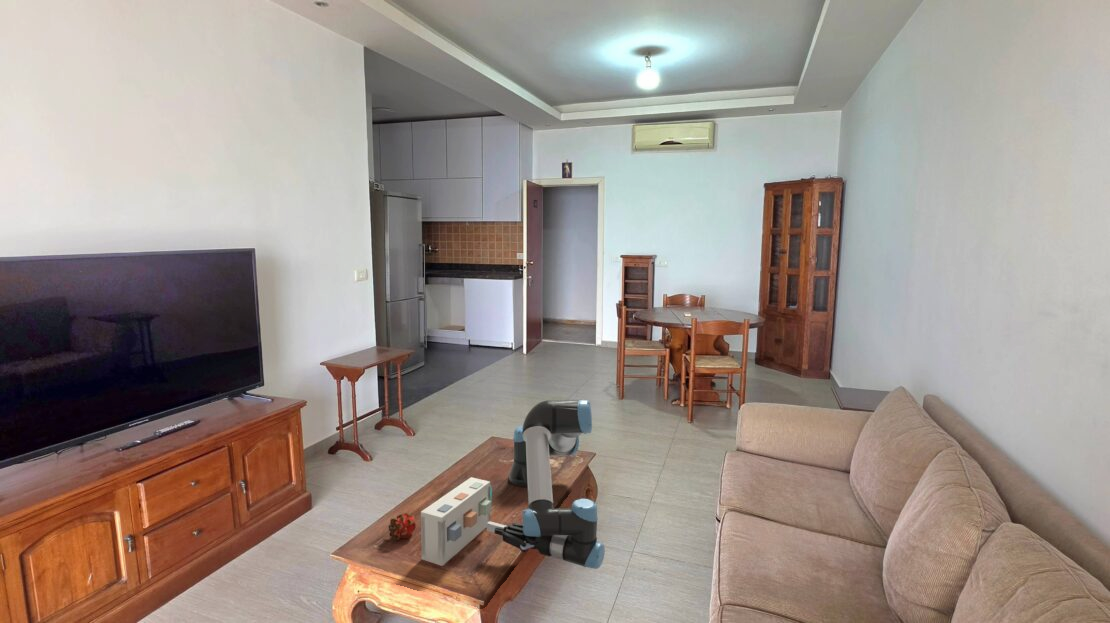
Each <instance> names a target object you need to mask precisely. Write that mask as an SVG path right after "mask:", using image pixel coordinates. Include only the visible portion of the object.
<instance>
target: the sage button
mask: <svg viewBox="0 0 1110 623" xmlns="http://www.w3.org/2000/svg"><path fill="white" fill-rule="evenodd" d="M489 512H490V513H491V512H492V500H491V501H489V500H485V499H483V500H482V501H480V502H479V514H482V515H487V514H488V513H489Z"/></svg>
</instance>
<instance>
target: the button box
mask: <svg viewBox="0 0 1110 623" xmlns="http://www.w3.org/2000/svg"><path fill="white" fill-rule="evenodd" d="M490 486H491V481H489V480H486V479H480V478H476V477H472V476H470V477H469V478H468V479H466V480H465V481H463V482H462V483H460V484H459V485H458V486H456V487H455V488H453V489H451V490H450V491H449V492H447V493H446V494H444V495H443V496H441V497H439V499H437V500H436V501H434V502H433V503H431V504H430V505H429V506H427V507H426V508H424V509H423V510H421V511H420V538H421V539H420V540H421V541H420V542H421V544H420V546H421V560H422V561H426V562H429V563H432V564H435V565H438V566H441V567H443V566H444V565H446V564H447V563H448V562H449V561H450V560H451V559H452V558H453V557H454V556H456V555H457V554H458V553H460V552H461V551H462V549H464V548H465V547H466V546H467V545H468V544H469V543H470V542H471V541H473V540H474V539H475V538H476V537H478V535H480V534H481V533H482V532H483V531H484V530H485V529H487V523H488V522H489V521H491V512H489V513H488V514H487V515H482V514H479V502H480V501H482V500H483V499H485V500H489V501H490ZM467 511H473V512H477V523H476V524H475V525H474V526H473V527H471V528H470V527H466V526H463V515H464V514H465V513H466V512H467ZM452 523H456V524H459V525H461V528H462V536H461V537H460V538H458V539H457V540H456V541H452V540H449V539H447V527H448V526H450V525H451V524H452Z"/></svg>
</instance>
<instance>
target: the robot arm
mask: <svg viewBox="0 0 1110 623" xmlns="http://www.w3.org/2000/svg"><path fill="white" fill-rule="evenodd" d="M591 405H592V404H591V402H590V400H588V399H586V400H585V399H564V400H560V399H557V400H554V399H553V400H550V399H548V400H543V401H541V402H539V403H537V404H535V405H534V406H533V407H532V408H531V409H530V410H529V412H528V413H527V415H526V416H525V418H524V421H523V424H521V425H519V426H517V427H516V428H515V429H514V431H513V439H512V440H513V463H512V465H511V468H510V471H509V474H508V475H509V476H508V477H509V478H508V479H509V482H510V483H511V484H512V485H515V486H518V487H525V488H527V497H528V500H527V501H528V508H527V509H524V510H523V511H522V523H520V522H512V523H511V524H508V525H506V524H503V523H497V522H493V521H492V520H490V521H489V522H488V523H487V527H486V531H487V532H490V533H493V534H495V535H499V536H502V541H503V542H504V543H507V544H509V545H511V546H512V547H515V548H517V549H519V550H520V551H521V552H522V553H526V551H527V549H530V550H537V551H538V553H539V554H540V555H543V556H546V557H549V558H550V557H551V558H553V559H557V560H562V561H564V562H568V563H571V564H574V565H578V566H580V567H581V566H582V567H584V568H589V569H594V570H596V569H599V568H601V566H602V565H603V562H604V557H605V551H606V550H605V545H604V544H603V542H600V541H598V537H597V534H598V533H597V530H598V529H597V528H598V521H599V520H598V506H597V503H595V502H594V501H593V500H591V499H588V498H579V499H575V500H574V501H572V504H571V507H563V508H562V507H561V508H560V507H559V508H558V507H557V508H554V498H553V496H554V495H553V487H552V486H553V485H552V472H551V461H550V459H551V458H550V457H553V456H554V457H557V456H558V457H559V456H560V457H561V456H563V457H564V456H566V457H570V456H574V455H576V454H577V453H578V450H579V447H580V435H582V434H584V435H587V434H591V433H592V431H593V418H592V408H591V407H592V406H591Z"/></svg>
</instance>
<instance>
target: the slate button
mask: <svg viewBox="0 0 1110 623" xmlns="http://www.w3.org/2000/svg"><path fill="white" fill-rule="evenodd" d="M461 536H462V528H461V525H459V524H456V523H452V524H451V525H450V526H448V527H447V539H449V540H452V541H456V540H457V539H458V538H460V537H461Z"/></svg>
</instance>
